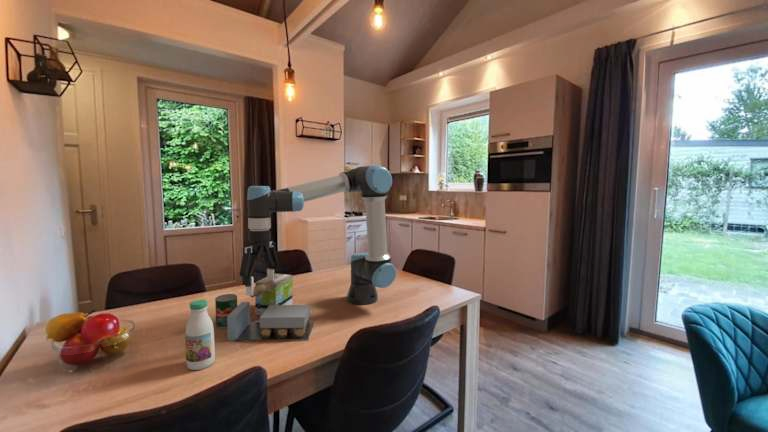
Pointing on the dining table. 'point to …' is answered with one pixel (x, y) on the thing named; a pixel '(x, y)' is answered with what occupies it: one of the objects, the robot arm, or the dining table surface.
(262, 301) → the tea box
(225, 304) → the canned tomato
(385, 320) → the dining table surface
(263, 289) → the roller
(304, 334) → the roller bed
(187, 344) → the milk bottle
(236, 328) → the block
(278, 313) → the slab
